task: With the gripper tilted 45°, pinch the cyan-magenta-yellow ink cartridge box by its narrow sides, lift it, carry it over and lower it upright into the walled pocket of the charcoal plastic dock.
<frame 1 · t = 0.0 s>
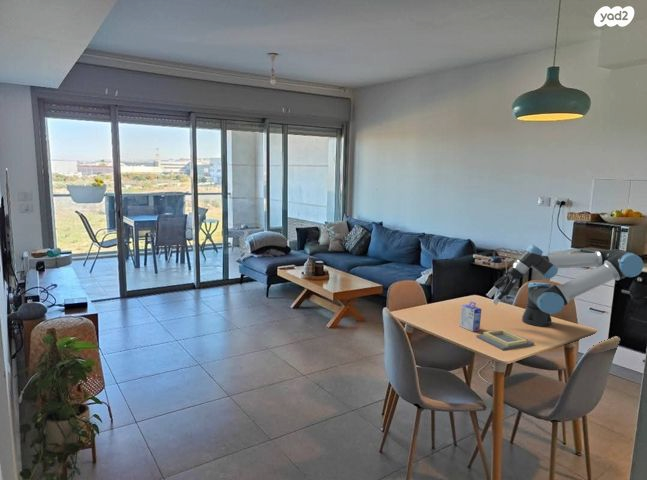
hand: (491, 299, 240), 15 cm above the table, tool tilted 35°, fingers open, 13 cm apart
ink cartridge box: (469, 328, 239), on the table
dock: (504, 340, 222), on the table
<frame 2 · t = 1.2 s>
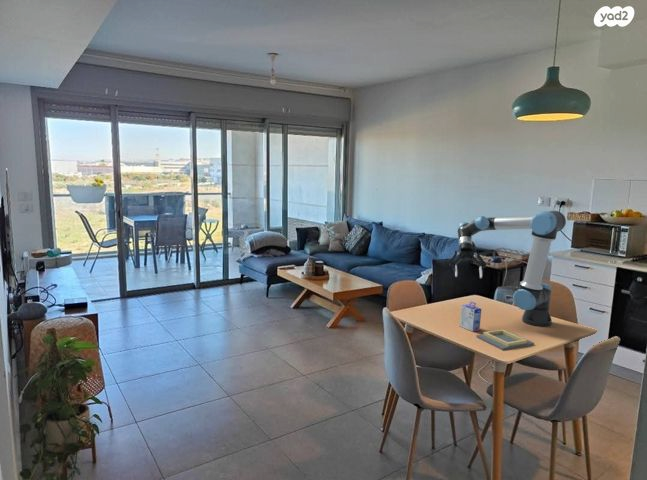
hand: (468, 276, 248), 26 cm above the table, tool tilted 45°, fingers open, 13 cm apart
nothing on the table moved.
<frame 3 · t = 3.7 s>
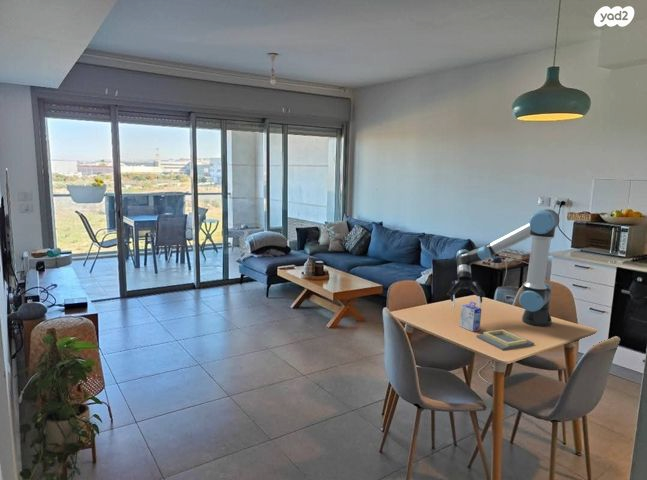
hand: (466, 307, 243), 11 cm above the table, tool tilted 45°, fingers open, 13 cm apart
nothing on the table moved.
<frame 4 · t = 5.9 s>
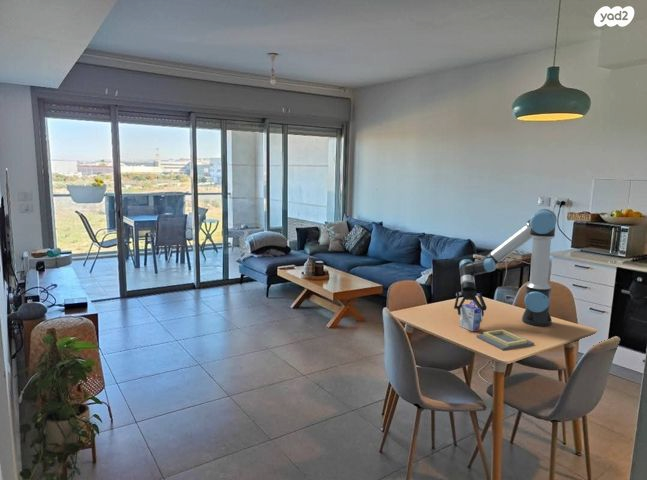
hand: (471, 320, 235), 5 cm above the table, tool tilted 45°, fingers closed on ink cartridge box, 9 cm apart
ink cartridge box: (469, 328, 239), on the table, touching gripper
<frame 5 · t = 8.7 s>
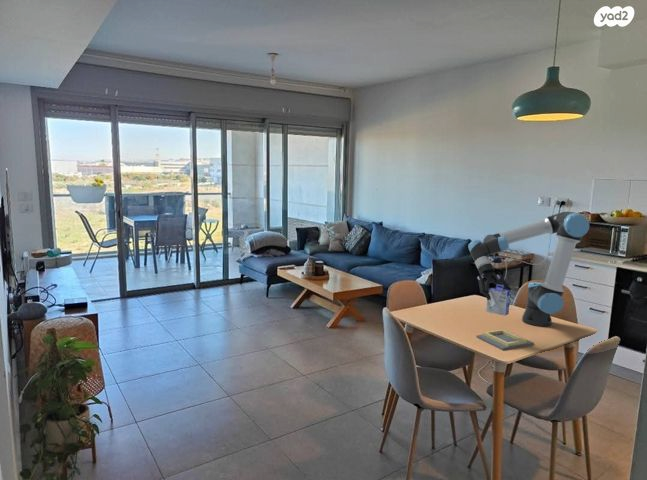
hand: (502, 304, 219), 19 cm above the table, tool tilted 45°, fingers closed on ink cartridge box, 9 cm apart
ink cartridge box: (497, 313, 223), point 13 cm above the table, touching gripper
when the fingers open (8 cm above the table, at t = 11.6 s): ink cartridge box drops 2 cm, resting on dock.
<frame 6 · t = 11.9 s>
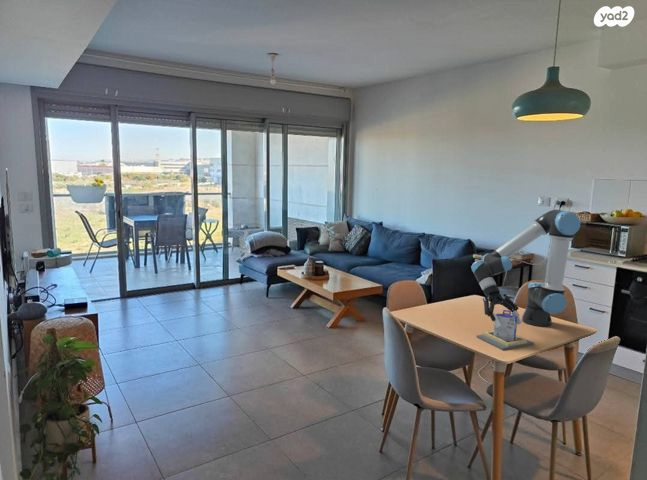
hand: (509, 324, 218), 9 cm above the table, tool tilted 45°, fingers open, 13 cm apart
ink cartridge box: (504, 339, 222), point 1 cm above the table, touching dock
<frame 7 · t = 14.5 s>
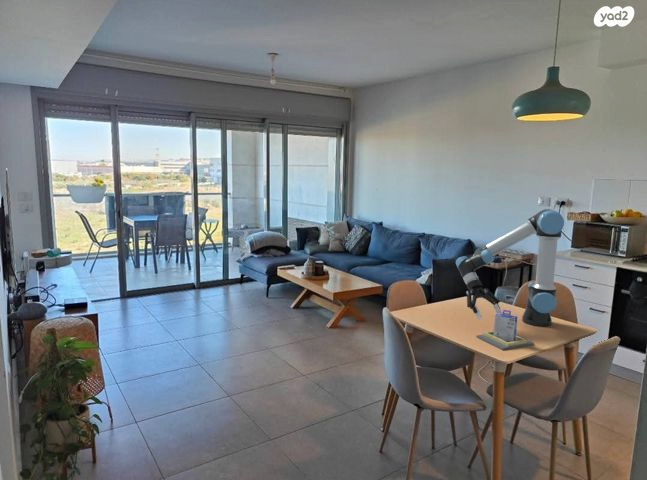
hand: (490, 317, 230), 9 cm above the table, tool tilted 45°, fingers open, 13 cm apart
nothing on the table moved.
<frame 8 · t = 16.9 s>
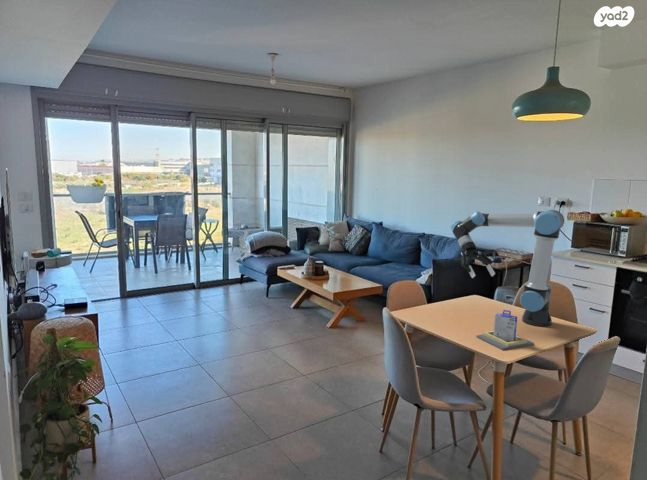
hand: (483, 276, 242), 28 cm above the table, tool tilted 45°, fingers open, 13 cm apart
nothing on the table moved.
at the end: ink cartridge box 0.1 cm off-centre on the dock, point 0.8 cm above the dock's base; ink cartridge box tilted 0°; the gripper is holding nothing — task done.
